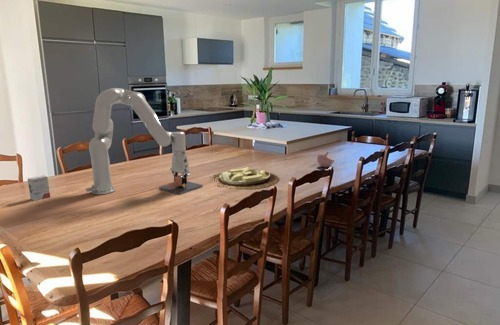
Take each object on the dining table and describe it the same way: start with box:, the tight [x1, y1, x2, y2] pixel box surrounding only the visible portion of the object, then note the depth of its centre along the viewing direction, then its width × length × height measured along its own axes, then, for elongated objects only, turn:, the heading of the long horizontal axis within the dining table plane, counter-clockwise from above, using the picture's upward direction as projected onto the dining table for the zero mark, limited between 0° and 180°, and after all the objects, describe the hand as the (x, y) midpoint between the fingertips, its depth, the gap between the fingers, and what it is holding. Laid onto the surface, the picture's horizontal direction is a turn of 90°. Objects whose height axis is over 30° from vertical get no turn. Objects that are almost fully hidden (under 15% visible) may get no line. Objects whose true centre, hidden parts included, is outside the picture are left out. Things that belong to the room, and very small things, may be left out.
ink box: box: [27, 174, 51, 202], centre depth 199 cm, size 9×5×12 cm, turn 141°
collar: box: [167, 174, 186, 188], centre depth 215 cm, size 12×6×5 cm, turn 144°
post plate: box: [158, 176, 204, 195], centre depth 217 cm, size 18×18×7 cm
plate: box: [209, 166, 280, 191], centre depth 236 cm, size 45×45×7 cm
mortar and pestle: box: [316, 151, 335, 168], centre depth 266 cm, size 12×12×11 cm
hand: (180, 182), depth 217 cm, fingers closed on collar, 6 cm apart
